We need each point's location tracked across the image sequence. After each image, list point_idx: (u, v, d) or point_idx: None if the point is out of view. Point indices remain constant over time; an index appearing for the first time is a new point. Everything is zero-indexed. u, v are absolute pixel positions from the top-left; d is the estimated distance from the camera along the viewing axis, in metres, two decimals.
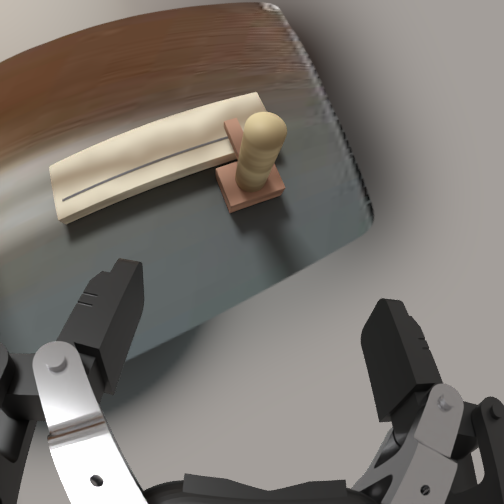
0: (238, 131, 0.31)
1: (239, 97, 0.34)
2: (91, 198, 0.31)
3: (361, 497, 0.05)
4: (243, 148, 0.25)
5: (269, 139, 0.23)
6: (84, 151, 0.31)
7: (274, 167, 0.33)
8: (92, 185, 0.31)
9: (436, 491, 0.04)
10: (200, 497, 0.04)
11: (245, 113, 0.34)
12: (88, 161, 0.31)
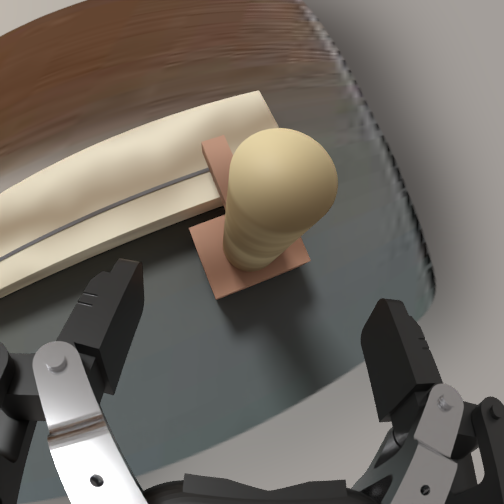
0: (227, 159, 0.18)
1: (230, 100, 0.21)
2: (5, 275, 0.17)
3: (361, 497, 0.05)
4: (230, 216, 0.11)
5: (295, 204, 0.09)
6: None
7: None
8: (6, 254, 0.17)
9: (436, 491, 0.04)
10: (200, 497, 0.04)
11: (240, 126, 0.21)
12: (1, 213, 0.18)
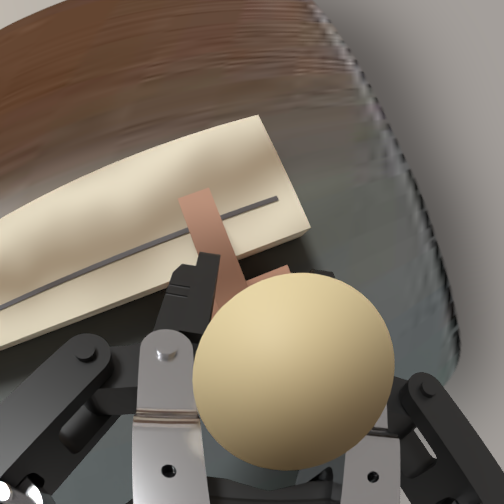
0: (214, 225, 0.13)
1: (220, 129, 0.16)
2: None
3: None
4: None
5: (315, 431, 0.04)
6: None
7: None
8: None
9: (386, 473, 0.04)
10: None
11: (233, 166, 0.16)
12: None
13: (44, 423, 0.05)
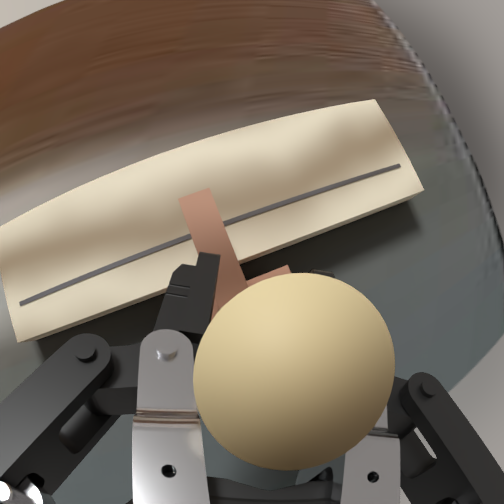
0: (214, 225, 0.13)
1: (349, 106, 0.18)
2: (73, 307, 0.15)
3: None
4: None
5: (315, 431, 0.04)
6: (53, 202, 0.15)
7: None
8: (72, 278, 0.15)
9: (386, 473, 0.04)
10: None
11: (365, 137, 0.18)
12: (61, 223, 0.15)
13: (44, 423, 0.05)
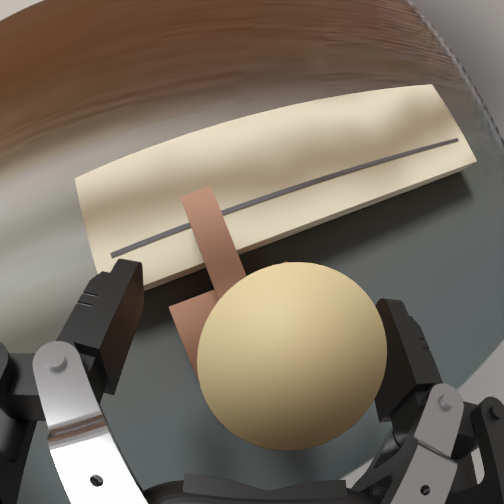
0: (216, 222, 0.13)
1: (415, 88, 0.19)
2: (182, 254, 0.15)
3: (361, 497, 0.05)
4: None
5: (312, 412, 0.05)
6: (154, 149, 0.16)
7: None
8: (181, 224, 0.16)
9: (436, 491, 0.04)
10: (200, 497, 0.04)
11: (430, 114, 0.19)
12: (165, 170, 0.16)
13: None
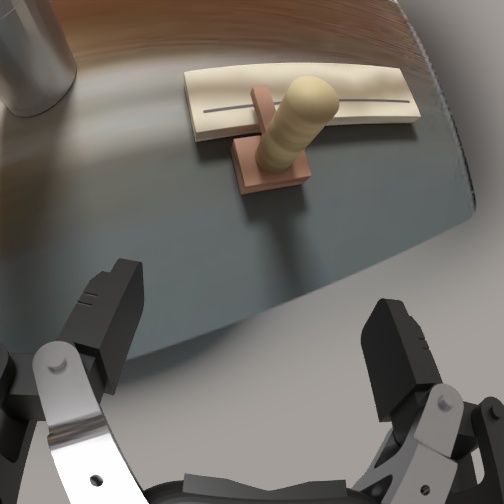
0: (268, 100, 0.25)
1: (386, 68, 0.31)
2: (243, 118, 0.27)
3: (361, 497, 0.05)
4: (280, 116, 0.19)
5: (317, 109, 0.17)
6: (233, 67, 0.28)
7: None
8: (245, 104, 0.27)
9: (436, 491, 0.04)
10: (200, 497, 0.04)
11: (393, 84, 0.31)
12: (238, 78, 0.28)
13: None
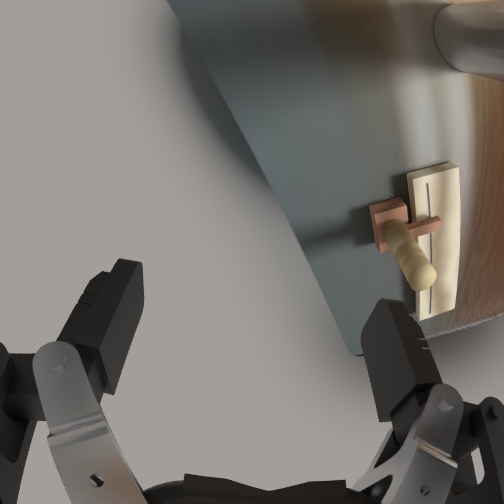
0: (431, 230, 0.36)
1: (454, 299, 0.45)
2: (420, 209, 0.37)
3: (361, 497, 0.05)
4: (415, 255, 0.31)
5: (415, 281, 0.30)
6: (458, 200, 0.35)
7: None
8: (430, 209, 0.36)
9: (436, 491, 0.04)
10: (200, 497, 0.04)
11: (442, 303, 0.46)
12: (450, 204, 0.36)
13: None
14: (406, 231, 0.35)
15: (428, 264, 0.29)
